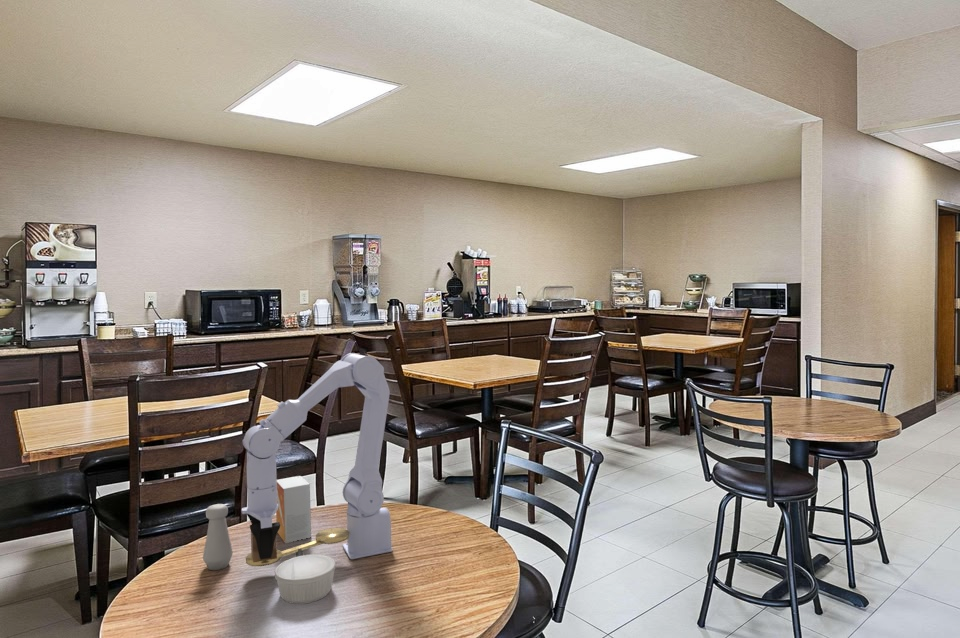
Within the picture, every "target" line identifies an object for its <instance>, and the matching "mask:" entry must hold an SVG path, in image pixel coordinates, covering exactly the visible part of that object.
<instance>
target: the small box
mask: <svg viewBox="0 0 960 638" xmlns="http://www.w3.org/2000/svg"><path fill="white" fill-rule="evenodd" d="M277 504H278V510H277V511H276V513H275V515H276V518H275V519H276V522H280V529H279V530H278V532H277V534H278V535H279V537H280V538H281V539H282V542H284V544H289V543H288V542H290V543H293V541H294V542H298V541H297V540H299V541H302V540H301V539H303V540H307V539H306V538H308V539H310V537H311V538H312V518H311V517H312V512H311V511H312V510H311V485H310V483H309V482H308V481H307V480H306V479H305V478H304V477H302V475H296V476H291V477H286V478H280V479H277ZM276 522H275V523H276Z"/></svg>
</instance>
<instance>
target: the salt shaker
mask: <svg viewBox="0 0 960 638" xmlns="http://www.w3.org/2000/svg"><path fill="white" fill-rule="evenodd" d="M228 513H229V508H228V506H227V505H226V504H223V503H217V504H212V505H209V506H207V508H206V510H205V516H206V519H208V520H209V521H208V527H207V531H206V538H205V544H204V549H203V555H202V559H203V562H204V563H205V565H206V567H207V569H208V570H210V571H219V570H222V569H226V568H227V567H228V566H229V564H230V562H231V560H232V558H233V547H232V544H231V543H232V542H231V538H230V533H229V528H228V525H227V524H228V523H227V519H226V517H227V516H228Z"/></svg>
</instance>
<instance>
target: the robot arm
mask: <svg viewBox="0 0 960 638" xmlns="http://www.w3.org/2000/svg"><path fill="white" fill-rule="evenodd" d="M333 363H334V364H333V365H332V366H331V367H330V368H329V369H328V370H326V372H325V373H324V374H323V375H321V377H319V379H317V380H316V381H315V382H314V383H313V384H311V386H310V387H309V388H308V389H306V390H305V391H304V392H303V393H302V394H301V395H300V396H299V397H298V398H297V399H287V400H286V401H280V402H279V403H277V405H276V406H277V408H276V409H275V410H274V411H273V412H272V413H270V415H268V416H267V417H266V418H265V419H264V418H261V419H260V420H259V421H258V423H259V424H257V425H254V426H251V427H250V428H248V430H247V431H246V432H245V435H244V436H243V439H242V441H241V442H242V446H243V447H244V449H245V450H246V489H247V490H246V491H247V493H246V495H247V497H246V498H247V500H246V501H247V506H246V507H242V508H241V514H242V515H247V517H248V519H249V521H250V523H251V524H249V529H250V533H251V532H252V533H253V535H254V537H255V539H256V543H257V548H258V553H259V557H260V559H267V558H271V556H272V552H273V547H274V541H275V537H276V538H277V534H278V533H277V532H278V530H279V529H280V522H273V519H272V518H273V517H274V516H275V515H276V511H277V510H278V504H277V480H278V479H277V475H278V474H277V460H276V459H277V458H276V457H277V456H276V453H277V452H278V450H279V449H280V444H281V442H283V441H284V440H285V439H286V438H288V437H289V436H290V435H291V434H292V433H293V432H294V431H296V430H297V429H298V428H299V427H300V426H301V425H302V424H304V423H305V422H306V421H307V418H308V417H307V416H308V412H309V411H310V410H311V409H312V408H314V407H315V406H316V405H318V404H319V403H320V402H322V400H324V399H325V398H326V397H328V396H329V395H330V394H332V393H333V392H334V391H335V390H336V389H338V388H345V387H346V388H347V387H354V386H356V388H357V389H358V390H359V391H360V393H361V394H362V395H363V396H364V402H363V408H362V409H363V410H362V415H361V422H360V427H359V428H360V429H359V436H358V443H357V449H356V455H355V462H354V466H353V467H352V468H351V470H350V471H349V472H348V473H349V474H348V479H347V481H346V482H345V483H344V486H343V488H342V496H343V499H344V501H345V502H346V503H347V507H346V528H347V529H346V530H348V531H349V538H348V539H346V540H347V541H346V543H343V544H342V547H343V549H344V551H345V553H346V555H347V556H348V557H349V559H350V560H355V559H361V558H366V557H371V556H376V555H380V554H387V553H390V552H391V553H392V552H393V548H392V521H391V519H392V518H391V514H390V510H389V509H388V507H387V506H386V507H385V506H384V507H382V506H383V505H384V499H385V496H384V492H383V489H382V488H383V479H382V477H381V473H380V470H379V468H380V462H381V461H380V460H381V453H382V447H383V440H384V435H385V429H386V428H385V427H386V421H387V413H388V407H389V402H390V401H389V400H390V394H391V393H390V392H391V391H390V387H389V384H388V381H387V379H386V377H385V372H384V371H385V368H384V366H383V365H382V364H381V363H380V362H379V361H378V360H377V359H376V358H375V357H373V356H372V355H371V356H370V355H364V354H363V355H362V354H359V353H355V352H350V353H347V354H345V355H344V356H343V357H342V358H341V360H337V361H335V362H333Z"/></svg>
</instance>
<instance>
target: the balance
mask: <svg viewBox="0 0 960 638" xmlns="http://www.w3.org/2000/svg"><path fill="white" fill-rule="evenodd" d="M348 538H349V531H348V530H347V529H346V528H341V527H340V528H339V527H333V528H326V529H323V530H320V531H318V532H317V533H316V534H315V540H313V541H310V542H309V541H308V542H306V543H304V544H303V543H302V544H301V545H297V546H293V547H291V548H287V549H285V550H280V549H277V558H274V559H269V560H264V561H258V562H253V559H252V554H251V552H250V553H249V554H247V555H246V556H245V564H246V565H248V566H251V567H266V566H271V565H274V564H276V563H277V562H279V561H281V560H282V558H283V557H287V556H288V555H292V554H295V555H294V557H298V556H303V555H304V550H308V549H310V548H314V547H317V546H321V545H323V544H324V545H325V544H326V545H329V544H330V545H331V544H334V545H335V544H339V543H342V542H344V541H346V540H347V539H348Z"/></svg>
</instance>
